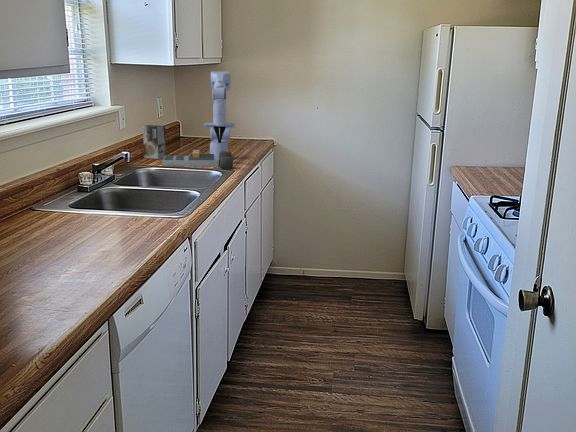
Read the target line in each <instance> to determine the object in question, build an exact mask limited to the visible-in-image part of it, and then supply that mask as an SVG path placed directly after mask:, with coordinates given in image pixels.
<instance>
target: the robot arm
mask: <svg viewBox="0 0 576 432" xmlns="http://www.w3.org/2000/svg"><path fill="white" fill-rule="evenodd" d="M210 85H211V86H210V87H211V95H212V96H211V98H212V104H213V105H212V107H213V108H212V109H213V110H212V111H213V113H212V114H213V116H212V117H213V118H212V119H213V122H204V123H203V127H204V128H210V129H209V130H210V132H209V133H210V134H209V137H210V140H211V142H210V143H209V154H214V156H218V159H219V152H229V149H228V148H229V147H228V144H229V143H228V142H229V141H230V140H231V128H234V129H235V128H236V123H235V122H234V123H233V122H226V113H227V112H226V109H227V108H226V107H227V105H226V103H227V102H226V101H227V92H228V91H229V90H230V88H231V72H230V71H214V70H212V71H211V72H210Z"/></svg>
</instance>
